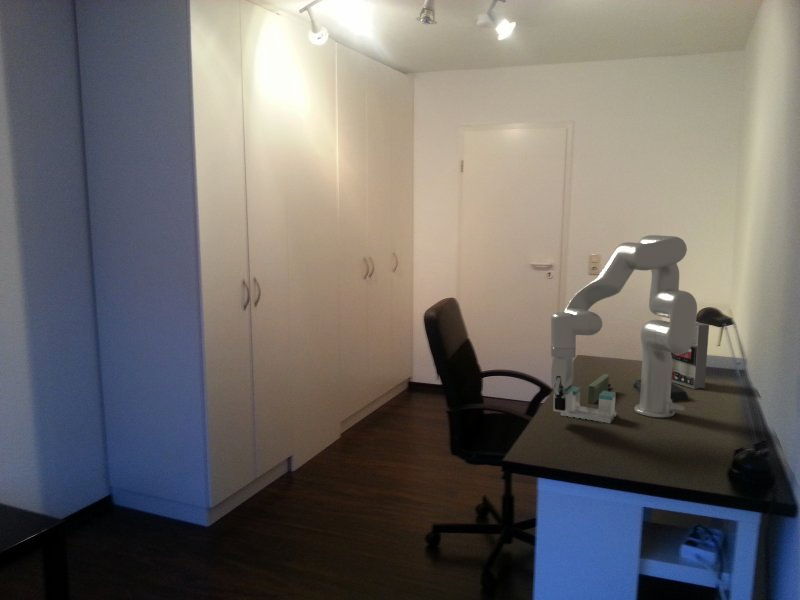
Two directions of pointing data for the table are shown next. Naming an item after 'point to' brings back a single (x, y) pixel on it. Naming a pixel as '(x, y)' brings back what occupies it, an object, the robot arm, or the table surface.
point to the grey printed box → (692, 360)
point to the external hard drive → (676, 391)
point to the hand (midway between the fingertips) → (563, 406)
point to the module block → (568, 399)
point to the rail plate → (601, 414)
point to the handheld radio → (597, 388)
